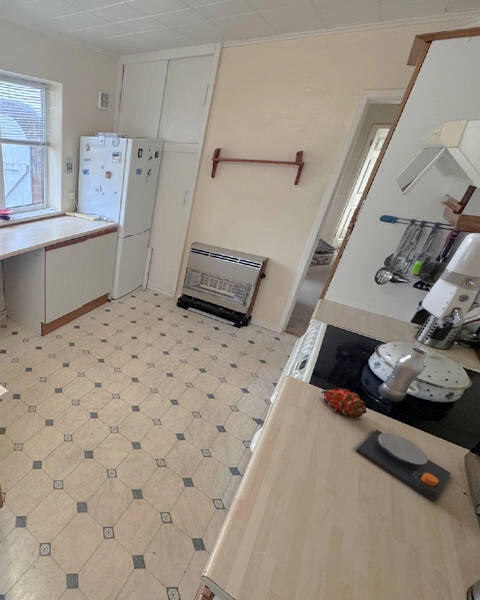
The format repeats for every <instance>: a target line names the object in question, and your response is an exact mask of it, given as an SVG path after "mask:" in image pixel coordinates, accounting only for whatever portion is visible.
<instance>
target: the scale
mask: <svg viewBox="0 0 480 600" xmlns="http://www.w3.org/2000/svg"><path fill="white" fill-rule="evenodd" d="M382 433H383V432H382V431H381V430H379V429H375V430H374V431H373V432H372V434H371V435H369V436H368V437H367V438H366V439H365V440H364V442H363V443H361V444H360V446H358V447H357V448H356V449H355V452H356V453H358V454H359V455H361V456H362V457H364V458H365V459H366V460H368V461H370V462H371V463H373V464H374V465H376V466H377V467H379V468H380V469H382V470H384V471H385V472H387V473H388V474H389V475H391V476H392V477H394V478H395V479H397V480H399V481H400V482H401V483H403V484H405V485H406V486H408V487H409V488H410V489H412V490H414V491H415V492H417V493H418V494H420V495H421V496H423V497H424V498H426V499H427V500H429V501H430V502H432V503H433V502H434V501H435V500H436V498H437V497H439V496H441V495H442V493H444V491H445V487H444V486H445V484H446V482H447V480H448V479H449V477H450V476H451V474H452V472H450V471H448V470H447V469H445V468H443V467H442V466H440V465H438V464H437V463H435V462H433V461H432V460H430V459H428V458H427V463H426V464H425V465H423V466H413V465H410V464H407V463H404V462H402V461H400V460H398V459H396V458H395V457H393V456H392V455H390V454H389V453H388V452H386V451H385V450H384V449H383V448H382V447H381V445H380V444H379V442H378V437H379V435H380V434H382ZM424 473H429V474H432V475H433V476H435V477H436V478H437V479H438V481H439V482H438V483H437V484H436V485H435V487H431V486H429V485H427V484H425V483H424V482H423V481H422V480H421V477H422V476H423V474H424Z"/></svg>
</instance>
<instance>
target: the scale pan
mask: <svg viewBox="0 0 480 600" xmlns="http://www.w3.org/2000/svg"><path fill="white" fill-rule="evenodd" d="M378 442H379V444H380V445H381V447H382V448H383V449H384V450H385V451H386V452H388V453H389V454H390V455H392V456H393V457H395V458H396V459H398V460H400V461H402V462H404V463H407V464H410V465H413V466H423V465H425V464H426V463H427V459H428V457H427V454H426V453H425V452H424V451H423V450H422V449H421V448H420V447H419V446H418V445H417V444H415V443H414V442H412V441H411V440H409V439H406V438H405V437H403V436H401V435H398V434H395V433H391V432H382V434H380V435H379V437H378Z"/></svg>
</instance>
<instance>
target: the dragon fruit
mask: <svg viewBox="0 0 480 600" xmlns="http://www.w3.org/2000/svg"><path fill="white" fill-rule="evenodd" d="M320 393H321V394H323V396H324V397H323V401H324V402H325V404H327V406H329V407H333V408H334V412H335V413H336V414H343V415H345V416H351V417H352V418H354V419H355V418H360V417H362V416H363V415H365V414H366V413H367V407H366V405H365V404H366V403H365V402H364V401H363V399H361V397H360V395H358V394H357V393H356V392H353V391H352V392H351V390H349V389H347V388H340V387H336V388H335V389H329V390H322V391H321V392H320Z"/></svg>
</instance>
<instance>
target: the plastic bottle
mask: <svg viewBox="0 0 480 600" xmlns="http://www.w3.org/2000/svg"><path fill="white" fill-rule="evenodd" d="M427 355H428V352H426V351H425V350H423V349H421V348H418V347H417V348H416V347H411V349H410V350H409V351H408V354H405V355H402V356H400V357H398V358H397V361H396V363H395V365H394V367H393V369H392V371H391V373H390V375H389V376H388V377H387V378H386V380H385V381H384V382H382V384H381V383H380V385H379V387H378V390H377V392H378V394H379V396H381V397H382V398H384V399H386V400H387V401H390V402H393V403H400V402H401V401H403V400H404V399H405V397H406V396H407V393H408V390H409V388H410V387H411V385H412V384H413V382H414V381H415V380H416V379H417V378H418V377H419V376H420V375H421V374H422V373H423V372H424V371H425V370H426V369H425V368H426V365H425V362H424V360H425V359H426V357H427Z"/></svg>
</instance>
